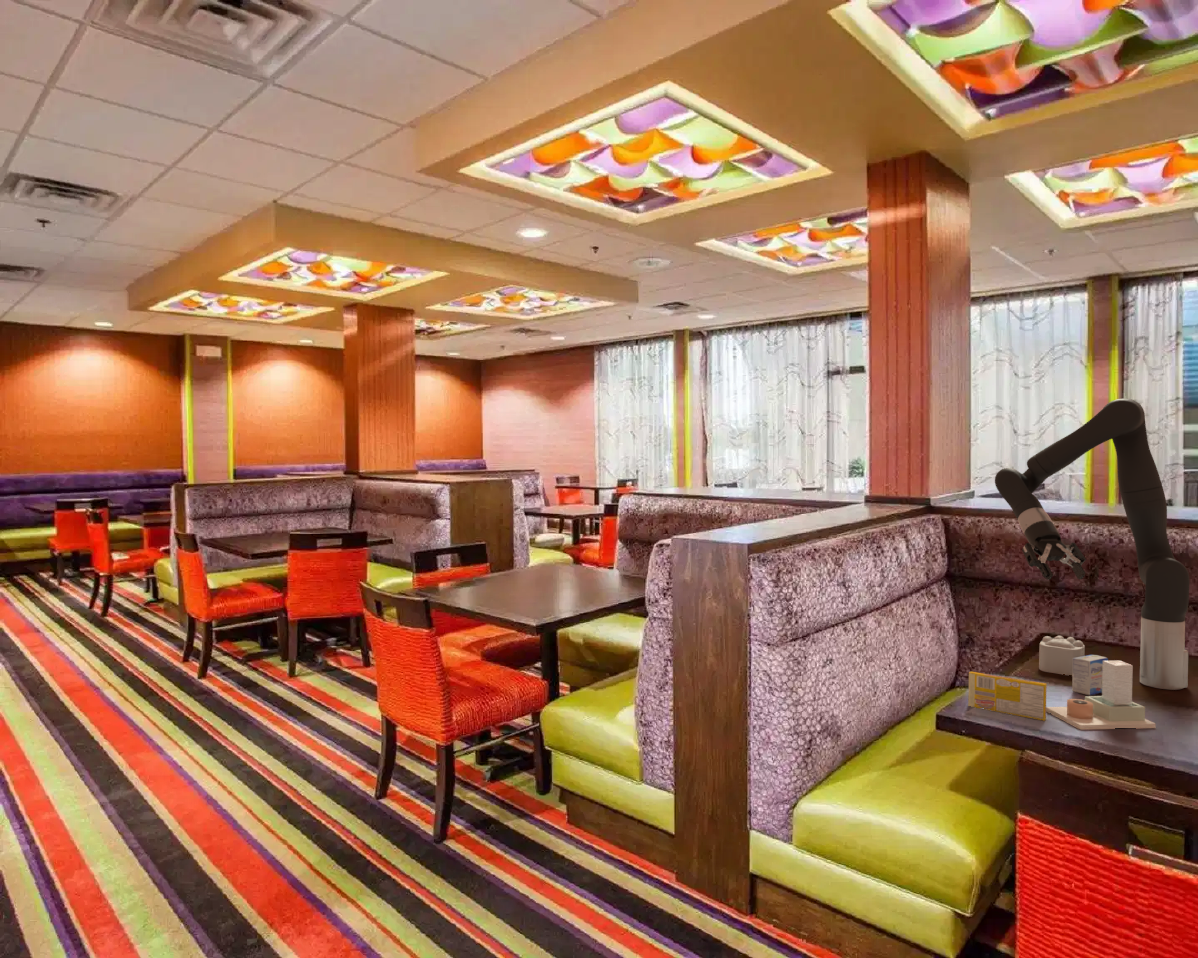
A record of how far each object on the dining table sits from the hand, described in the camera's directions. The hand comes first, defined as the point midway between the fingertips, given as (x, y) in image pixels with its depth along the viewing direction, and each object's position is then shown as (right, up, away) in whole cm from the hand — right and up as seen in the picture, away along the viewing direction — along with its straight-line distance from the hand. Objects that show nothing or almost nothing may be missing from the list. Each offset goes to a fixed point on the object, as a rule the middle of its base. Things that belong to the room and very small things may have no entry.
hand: (1066, 577), depth 198 cm
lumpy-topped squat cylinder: (+10, -28, +18) cm, 35 cm away
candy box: (-25, -29, -18) cm, 42 cm away
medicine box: (+5, -29, -2) cm, 29 cm away
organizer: (-6, -29, -23) cm, 38 cm away
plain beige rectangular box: (-3, -28, -24) cm, 37 cm away
